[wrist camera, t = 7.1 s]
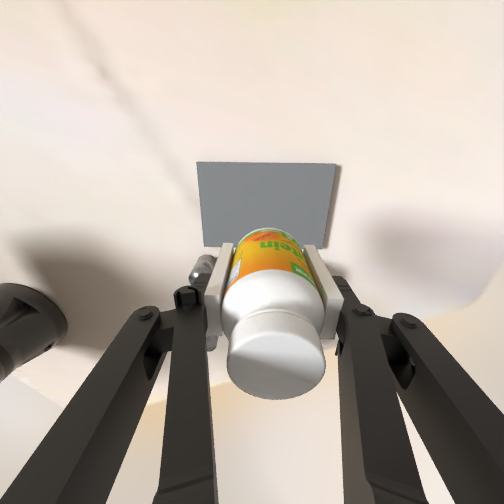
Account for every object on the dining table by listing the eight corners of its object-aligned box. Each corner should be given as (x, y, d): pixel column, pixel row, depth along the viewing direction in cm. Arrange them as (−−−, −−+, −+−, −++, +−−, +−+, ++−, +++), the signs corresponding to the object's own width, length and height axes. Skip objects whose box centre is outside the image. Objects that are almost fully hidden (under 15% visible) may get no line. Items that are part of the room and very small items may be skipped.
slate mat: (205, 243, 35) (204, 246, 34) (198, 161, 29) (196, 162, 29) (320, 246, 34) (322, 249, 33) (333, 163, 29) (336, 164, 28)
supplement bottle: (314, 241, 17) (375, 346, 8) (283, 294, 19) (304, 421, 10) (249, 214, 16) (236, 297, 7) (224, 273, 18) (192, 390, 9)
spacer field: (205, 333, 43) (198, 355, 38) (196, 248, 35) (186, 264, 31) (303, 336, 43) (309, 359, 38) (317, 251, 35) (325, 267, 30)
